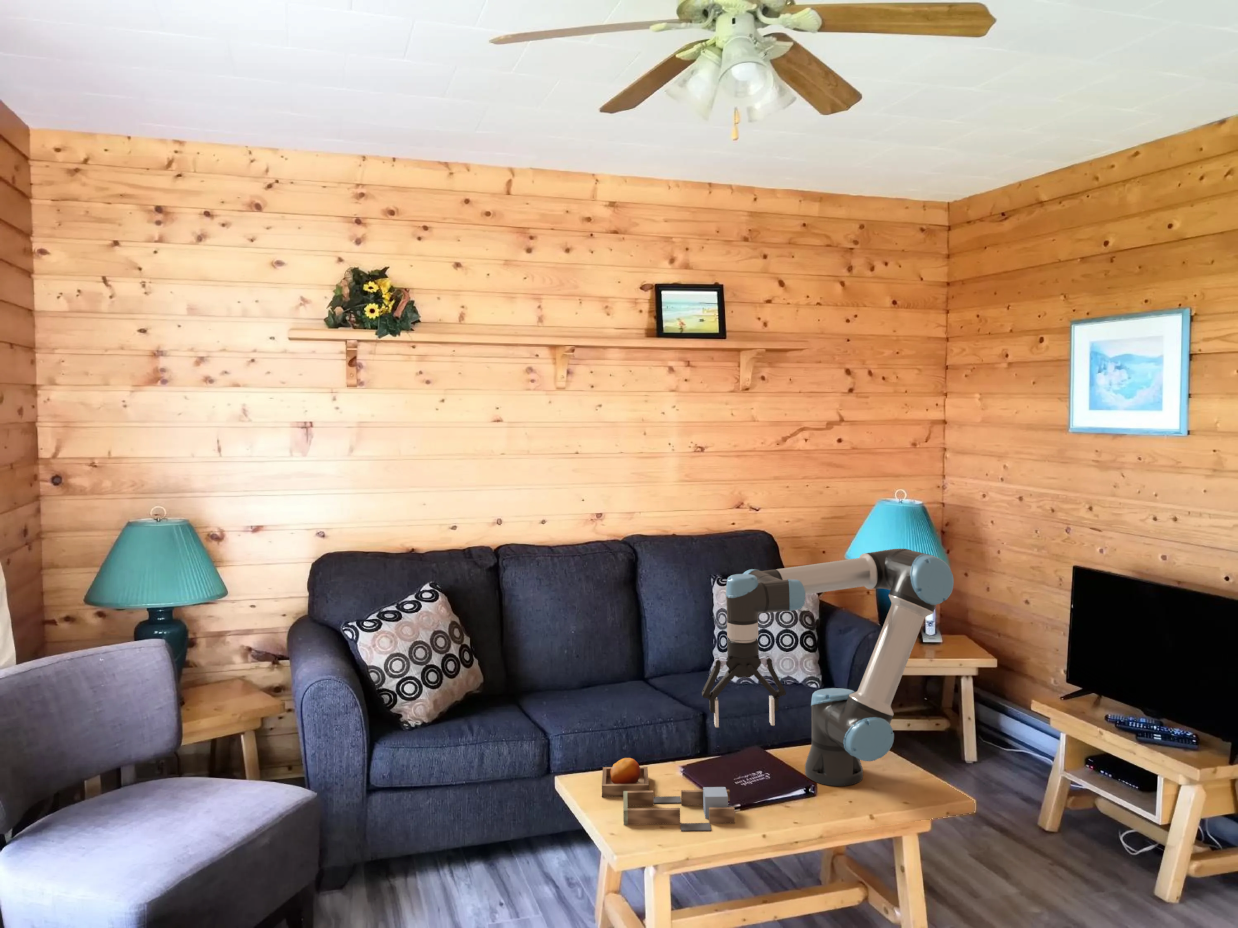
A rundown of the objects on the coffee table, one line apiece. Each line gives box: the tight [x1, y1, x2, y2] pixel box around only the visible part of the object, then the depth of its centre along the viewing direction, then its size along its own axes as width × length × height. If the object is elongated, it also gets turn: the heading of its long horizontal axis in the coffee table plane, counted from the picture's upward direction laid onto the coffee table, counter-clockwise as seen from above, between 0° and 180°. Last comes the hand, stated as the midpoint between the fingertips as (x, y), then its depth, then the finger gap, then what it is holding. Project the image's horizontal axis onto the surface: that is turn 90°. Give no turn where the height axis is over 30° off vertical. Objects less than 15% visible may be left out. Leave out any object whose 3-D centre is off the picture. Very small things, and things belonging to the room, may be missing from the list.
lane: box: [622, 789, 736, 832], centre depth 222 cm, size 26×18×4 cm
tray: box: [601, 766, 650, 798], centre depth 238 cm, size 12×12×3 cm
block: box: [702, 786, 729, 820], centre depth 222 cm, size 6×6×6 cm
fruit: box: [610, 757, 641, 784], centre depth 238 cm, size 8×8×8 cm
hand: (744, 724), depth 222 cm, fingers open, 13 cm apart
